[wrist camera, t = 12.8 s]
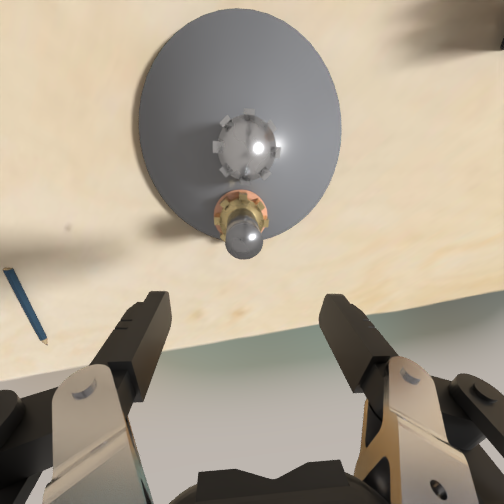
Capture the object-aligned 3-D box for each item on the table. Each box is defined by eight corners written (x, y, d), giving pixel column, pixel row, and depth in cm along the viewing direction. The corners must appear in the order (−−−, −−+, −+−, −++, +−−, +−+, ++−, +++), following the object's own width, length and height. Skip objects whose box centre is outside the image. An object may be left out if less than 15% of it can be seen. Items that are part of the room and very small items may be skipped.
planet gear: (215, 189, 23) (207, 205, 16) (268, 193, 24) (284, 209, 17) (215, 240, 26) (208, 272, 19) (263, 242, 27) (274, 273, 19)
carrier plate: (123, -5, 17) (71, -81, 11) (363, 35, 19) (413, -12, 14) (157, 235, 26) (137, 256, 21) (314, 242, 29) (333, 262, 23)
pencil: (15, 267, 27) (52, 343, 33) (7, 266, 27) (46, 343, 33) (9, 270, 26) (48, 347, 33) (0, 270, 26) (41, 347, 32)
